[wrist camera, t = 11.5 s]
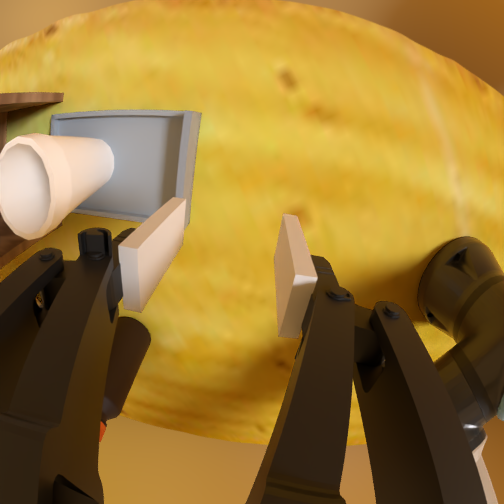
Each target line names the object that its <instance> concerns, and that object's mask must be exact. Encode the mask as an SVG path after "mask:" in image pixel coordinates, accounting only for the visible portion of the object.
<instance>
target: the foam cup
mask: <svg viewBox="0 0 504 504" xmlns="http://www.w3.org/2000/svg"><path fill="white" fill-rule="evenodd" d="M113 170H114V155H113V153H112V151H111V148H110V146H109V145H108V144H107V143H105V142H104V141H103V140H101V139H96V138H89V137H74V136H53V135H44V134H38V133H32V134H27V135H21V136H17V137H16V138H14V139H13V140H11V141H10V142H8V143H7V144H5V146H4V148H3V150H2V152H1V153H0V212H1V215H2V217H3V219H4V221H5V222H6V224H7V225H8V226H9V227H10V228H11V230H12V231H13V232H14V233H15V234H16V235H18V236H20V237H23V238H25V239H27V240H32V239H36V238H40V237H43V236H44V235H46V234H47V233H49V232H50V231H52V230H53V229H55V228H56V227H57V226H58V225H59V224H60V222H61V221H62V220H63V219H64V218H65V217H66V216H67V215H68V214H69V213H70V212H71V211H73V210H74V209H75V208H76V207H77V206H79V205H80V204H81V203H82V202H83V201H85V200H86V199H87V198H88V197H90V196H91V195H92V194H93V193H95V192H96V191H97V190H98V189H100V188H101V187H102V186H103V185H104V184H105V183H106V182H107V181H108V180H109V179H110V178H111V175H112V173H113Z"/></svg>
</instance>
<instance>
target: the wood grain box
mask: <svg viewBox="0 0 504 504" xmlns="http://www.w3.org/2000/svg"><path fill="white" fill-rule="evenodd" d="M63 95H64V93H46V92H28V93H2V94H0V153H1V152H2V150H3V148H4V146H5V144H6V131H7V115H8V112H9V111H13V110H18V109H22V108H27V107H32V106H38V105H43V104H49V103H56V102H62V101H63ZM60 226H62V221H61V222H60V224H59V225H58V226H57V227H56V228H55V229H57V228H59V227H60ZM55 229H53V230H52V231H54V230H55ZM52 231H50V232H49V233H51V232H52ZM49 233H47V234H46V235H48V234H49ZM46 235H44V236H43V237H45V236H46ZM43 237H40V238H36V239H32V240H27V239H25V238H23V237H20V236H18V235H16V234H15V233H14V232H13V231H12V230H11V228H10V227H9V226H8V225H7V224H6V222H5V221H4V219H3V217H2V215H1V212H0V269H1V268H2V267H3V266H5V265H6V264H7V263H9V262H10V261H11V260H13V259H14V258H15V257H17V256H18V255H19V254H21V253H22V252H23V251H25V250H26V249H28V248H29V247H30V246H32V245H33V244H35V243H36V242H38V241H39V240H40V239H42V238H43Z"/></svg>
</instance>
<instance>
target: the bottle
mask: <svg viewBox="0 0 504 504" xmlns="http://www.w3.org/2000/svg"><path fill="white" fill-rule="evenodd" d="M150 341H151V337H150V333H149V332H148V330H147V328H146V327H145V326H144V325H143V324H142V323H140V322H139V321H137V320H135V319H132V318H128V317H121V318H119V319H118V320H117V324H116V329H115V334H114V339H113V344H112V349H111V354H110V359H109V365H108V371H107V377H106V384H105V391H104V398H103V406H102V415H101V425H100V437H99V442H101V440H102V437H103V435H104V432H105V430H106V426H107V424H106V421H107V420H109V419H112V418H116V417H117V416H118V415H119V414H120V413H121V410H122V408H123V405H124V403H125V400H126V398H127V395H128V393H129V391H130V388H131V386H132V384H133V381H134V379H135V377H136V374H137V372H138V370H139V367H140V365H141V363H142V361H143V358H144V356H145V354H146V352H147V349H148V347H149V345H150Z"/></svg>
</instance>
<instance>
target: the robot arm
mask: <svg viewBox="0 0 504 504" xmlns="http://www.w3.org/2000/svg"><path fill="white" fill-rule="evenodd" d="M185 207H186V199H184V198H176V197H173V198H171V199H170V200H169V201H168V202H167V203H165V204H164V205H163V206H162V207H161V208H160V209H158V210H157V211H156V212H155V213H154V214H153V215H151V216H150V217H149V218H148V219H147V220H146V221H145V222H143V223H142V224H141V225H140V226H139V227H138V228H137V229H135V228H130V229H127V230H125V231H122V232H121V233H120V234H119V235H118V236H117V237H115V238H114V239H113V241H112V238H111V232H110V231H109V230H108V229H105V228H90V229H86V230H83V231H81V232H80V233H79V234H78V242H79V251H80V256H79V257H78V259H77V261H63V255H62V252H61V250H59V249H56V248H45V249H44V250H41V251H39V252H37V253H35V254H34V255H33V256H32V257H30V258H29V259H28V260H27V261H25V262H24V263H23V264H22V265H20V266H19V267H18V268H17V269H16V270H15V271H13V272H12V273H11V274H10V275H9V276H8V277H6V278H5V279H4V280H3V281H2V282H1V283H0V504H104V496H103V488H102V483H101V480H100V477H99V473H98V452H99V437H100V425H101V415H102V406H103V398H104V391H105V384H106V377H107V371H108V365H109V359H110V354H111V349H112V344H113V339H114V334H115V329H116V324H117V320H118V316H119V309H118V303H119V301H120V300H121V298H122V297H123V304H124V309H127V310H131V311H136V312H140V313H141V312H142V311H143V309H144V307H145V306H146V304H147V302H148V300H149V299H150V297H151V295H152V294H153V292H154V290H155V289H156V287H157V285H158V284H159V282H160V280H161V279H162V277H163V275H164V274H165V272H166V271H167V269H168V267H169V266H170V264H171V262H172V261H173V259H174V258H175V256H176V255H177V253H178V251H179V250H180V248H181V247H182V245H183V236H184V221H185ZM274 267H275V283H276V300H277V319H278V336H279V337H287V338H297V339H298V337H299V334H300V331H301V328H302V333H303V337H302V340H301V343H300V345H299V348H298V351H297V354H296V356H295V359H296V360H295V363H294V367H293V370H292V374H291V377H290V380H289V384H288V387H287V390H286V393H285V397H284V400H283V403H282V406H281V409H280V412H279V415H278V418H277V421H276V424H275V427H274V430H273V433H272V436H271V439H270V442H269V445H268V447H267V450H266V453H265V456H264V459H263V461H262V464H261V467H260V469H259V472H258V474H257V477H256V479H255V482H254V484H253V487H252V489H251V492H250V495H249V497H248V499H247V502H246V504H346V502H345V500H344V499H343V498H342V497H341V496H340V492H339V489H340V482H341V476H342V471H343V464H344V458H345V451H346V444H347V436H348V428H349V418H350V408H351V396H352V382H353V381H354V385H355V390H356V394H357V398H358V403H359V407H360V412H361V417H362V422H363V427H364V432H365V437H366V442H367V447H368V453H369V458H370V464H371V470H372V476H373V483H374V490H375V497H376V504H498V502H497V498H496V495H495V492H494V489H493V486H492V483H491V480H490V477H489V474H488V471H487V469H486V466H485V464H484V461H483V458H482V456H481V452H482V449H483V447H484V444H485V442H486V439H487V435H486V433H485V431H484V428H483V425H484V424H485V423H487V422H488V421H489V420H490V419H492V418H493V417H494V416H496V415H497V417H498V419H501V420H502V421H504V273H503V271H502V270H501V268H500V266H499V264H498V262H497V260H496V259H495V257H494V255H493V253H492V252H491V250H490V249H489V248H488V247H487V246H486V245H485V244H483V243H482V242H481V241H479V240H478V239H476V238H473V237H462V238H459V239H456V240H454V241H452V242H450V243H449V244H447V245H446V246H445V247H444V248H442V249H441V250H440V251H439V252H438V253H437V254H436V255H435V257H434V258H433V259H432V261H431V262H430V263H429V265H428V267H427V268H426V270H425V272H424V274H423V276H422V279H421V282H420V285H419V289H418V305H419V308H420V310H421V312H422V313H423V315H424V316H425V318H426V319H427V321H428V322H429V323H430V324H431V325H433V326H435V327H436V328H438V329H439V330H441V331H443V332H444V333H446V334H447V335H449V336H450V337H452V338H453V339H454V340H455V342H456V343H457V344H456V345H455V346H454V347H453V348H451V349H450V350H449V351H447V352H446V353H445V354H444V355H442V356H441V357H440V358H438V359H437V360H436V361H434V362H433V361H432V359H431V357H430V355H429V353H428V351H427V349H426V348H425V346H424V344H423V342H422V340H421V338H420V337H419V335H418V333H417V331H416V329H415V328H414V326H413V324H412V322H411V321H410V319H409V317H408V315H407V314H406V312H405V311H404V310H403V309H402V308H401V307H399V306H398V305H397V304H394V303H392V302H387V301H380V302H377V303H376V305H375V307H374V309H373V310H370V309H367V308H364V307H361V306H358V305H356V304H354V297H353V295H352V294H351V293H350V292H349V291H347V290H346V289H344V288H342V287H340V286H339V284H338V282H337V279H336V277H335V275H334V272H333V270H332V267H331V265H330V263H329V262H328V261H327V260H326V259H325V258H324V257H320V256H314V255H310V252H309V249H308V246H307V244H306V241H305V238H304V235H303V232H302V229H301V226H300V223H299V220H298V217H297V216H295V215H289V214H283V217H282V222H281V227H280V232H279V237H278V242H277V247H276V251H275V256H274ZM39 292H40V295H41V299H42V302H43V303H42V304H41V305H40V306H38V304H37V301H36V297H35V296H36V295H37V294H38V293H39Z"/></svg>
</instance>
